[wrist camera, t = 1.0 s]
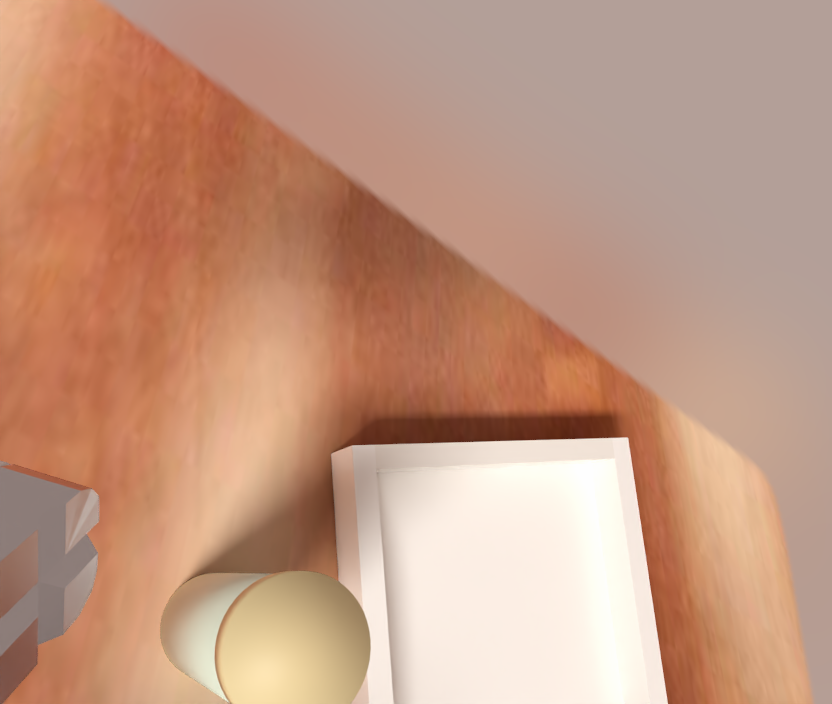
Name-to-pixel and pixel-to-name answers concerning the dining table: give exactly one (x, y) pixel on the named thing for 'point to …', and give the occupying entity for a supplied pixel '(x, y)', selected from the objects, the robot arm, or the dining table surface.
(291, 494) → the dining table surface
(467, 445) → the dish
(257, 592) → the tea tin
